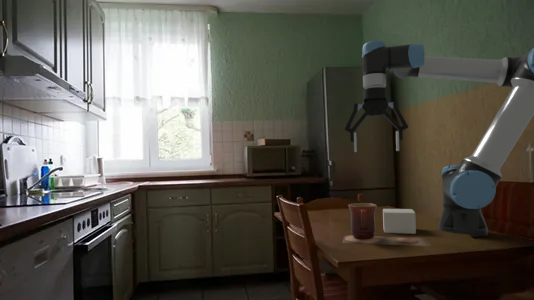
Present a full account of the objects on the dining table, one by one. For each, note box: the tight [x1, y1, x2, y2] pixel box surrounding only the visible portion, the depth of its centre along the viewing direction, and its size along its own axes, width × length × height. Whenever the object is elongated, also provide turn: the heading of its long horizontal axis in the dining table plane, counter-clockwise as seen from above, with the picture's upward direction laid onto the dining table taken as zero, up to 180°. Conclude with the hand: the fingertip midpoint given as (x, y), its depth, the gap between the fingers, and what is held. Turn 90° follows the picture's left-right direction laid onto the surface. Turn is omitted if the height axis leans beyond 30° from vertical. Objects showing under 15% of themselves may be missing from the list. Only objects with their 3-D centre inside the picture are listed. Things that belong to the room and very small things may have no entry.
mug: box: [347, 202, 377, 239], centre depth 116 cm, size 12×9×10 cm
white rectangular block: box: [382, 208, 417, 235], centre depth 129 cm, size 10×9×8 cm
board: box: [342, 234, 432, 247], centre depth 114 cm, size 25×11×2 cm, turn 75°
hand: (376, 151), depth 124 cm, fingers open, 13 cm apart
